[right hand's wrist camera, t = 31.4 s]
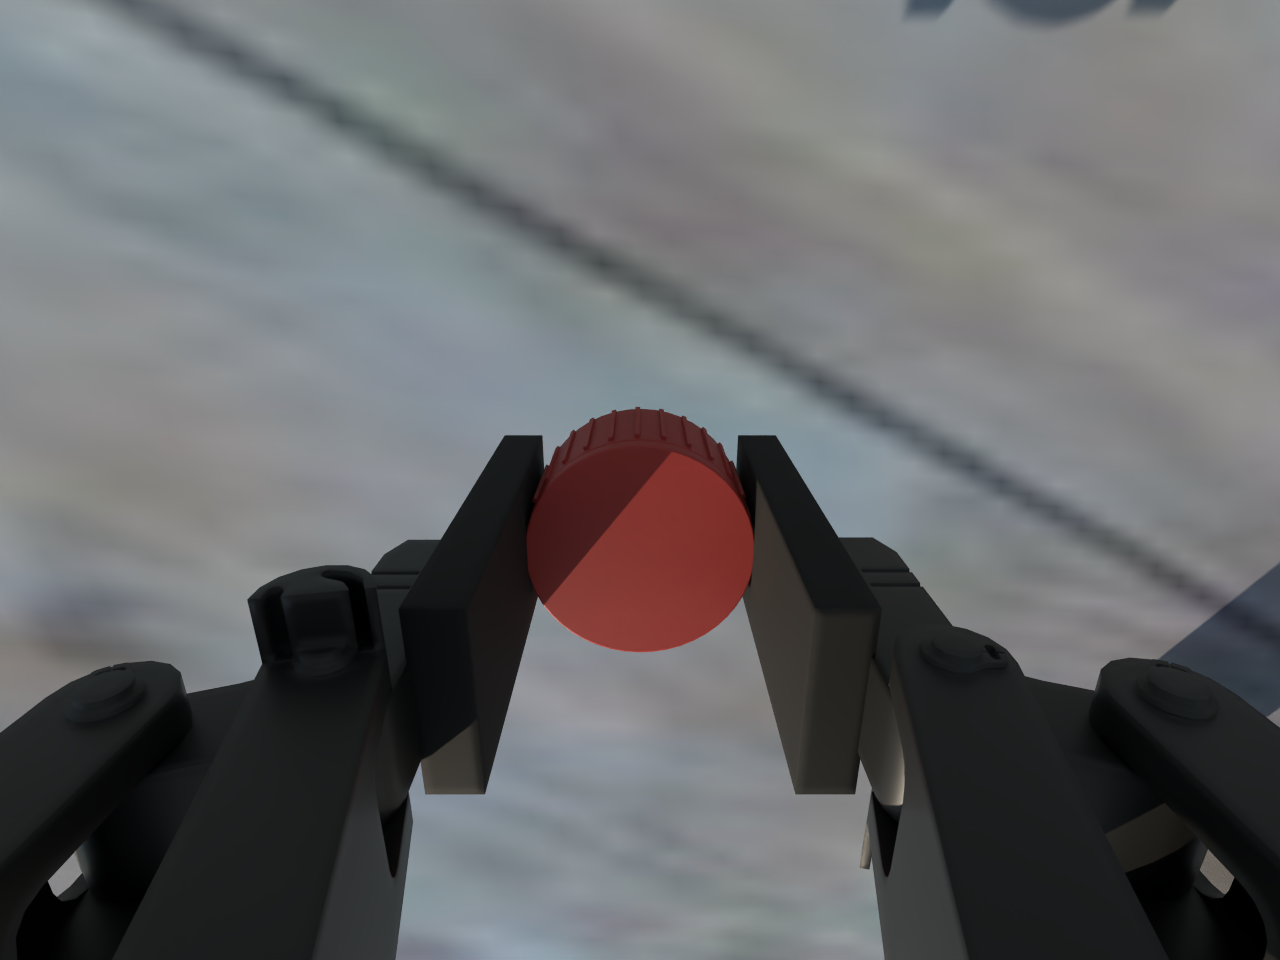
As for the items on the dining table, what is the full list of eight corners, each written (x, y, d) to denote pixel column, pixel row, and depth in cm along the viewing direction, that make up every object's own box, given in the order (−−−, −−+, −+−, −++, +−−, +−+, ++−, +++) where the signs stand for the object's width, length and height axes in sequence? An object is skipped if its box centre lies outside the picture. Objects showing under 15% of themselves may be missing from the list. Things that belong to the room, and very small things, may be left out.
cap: (505, 534, 14) (481, 591, 12) (602, 366, 13) (595, 396, 11) (673, 620, 15) (677, 689, 13) (780, 470, 14) (806, 518, 12)
